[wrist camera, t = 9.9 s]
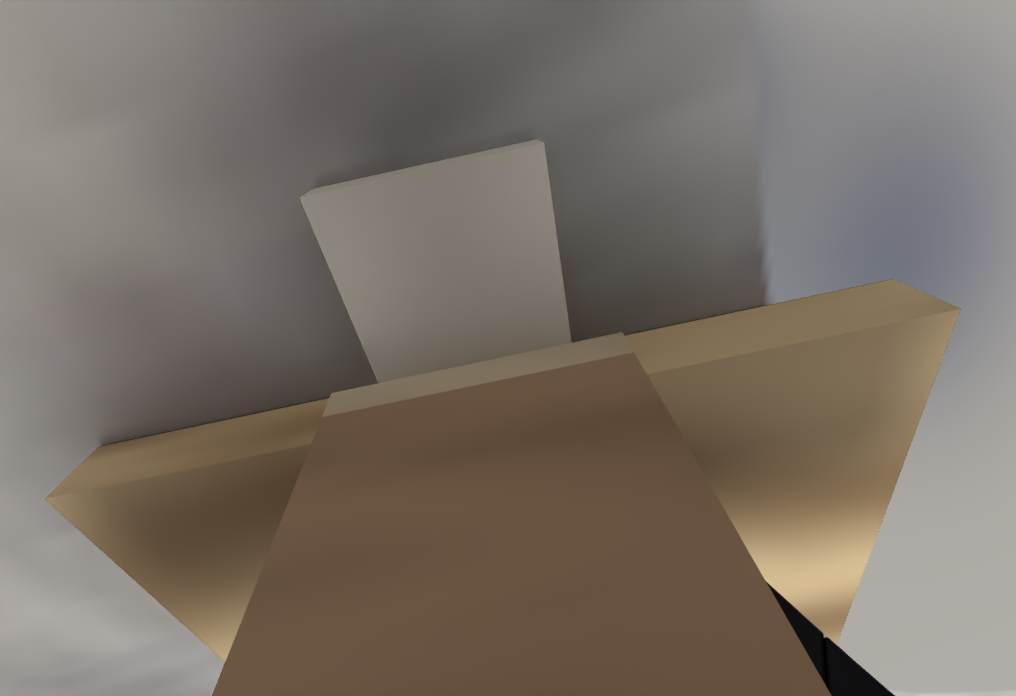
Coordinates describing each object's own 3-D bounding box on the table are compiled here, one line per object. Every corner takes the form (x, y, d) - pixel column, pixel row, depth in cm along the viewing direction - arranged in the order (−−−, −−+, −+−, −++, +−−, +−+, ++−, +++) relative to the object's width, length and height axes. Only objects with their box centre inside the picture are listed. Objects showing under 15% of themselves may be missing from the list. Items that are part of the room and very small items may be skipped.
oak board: (781, 691, 20) (804, 734, 18) (390, 760, 20) (385, 806, 19) (893, 278, 9) (961, 308, 8) (99, 446, 10) (44, 499, 9)
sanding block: (636, 581, 12) (732, 869, 8) (454, 615, 12) (448, 915, 8) (622, 331, 7) (833, 699, 3) (331, 392, 7) (166, 814, 3)
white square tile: (562, 327, 10) (573, 354, 9) (390, 363, 10) (382, 394, 9) (533, 136, 8) (544, 143, 7) (320, 183, 8) (299, 198, 7)
